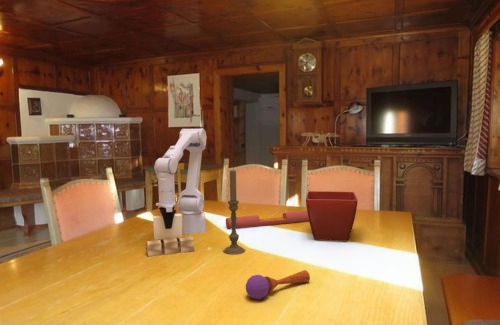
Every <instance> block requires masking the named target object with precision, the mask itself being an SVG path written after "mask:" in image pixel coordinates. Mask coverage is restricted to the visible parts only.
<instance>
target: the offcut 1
mask: <svg viewBox="0 0 500 325" xmlns="http://www.w3.org/2000/svg"><path fill="white" fill-rule="evenodd" d="M160 240H161V239H155V240H154V241H153V240H147V241H146V243H147V249H148V256H151V257H155V256H154V255H160V256H163V255H162V251H161V241H160Z"/></svg>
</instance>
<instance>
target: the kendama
mask: <svg viewBox="0 0 500 325" xmlns="http://www.w3.org/2000/svg"><path fill="white" fill-rule="evenodd" d="M310 279H311V275H310V273H309V272H308V271H307V270H306V269H305V270H301V271H298V272H296V273H293V274H290V275H288V276H285V277H283V278H280V279H275V278H273V277H269V276H263V275H261V274H255V275H251V276H250V277H249V278H248V279H246V280H247V281H246V284H245V291H246V293H247V295H248V296H249V297H250V298H251V299H254V300H261V299H264V298H265V297H266V296H267V295H268V294H270V293H272V291H274V290H275V289H276V288H277V286H279V285H288V284H300V283H301V284H302V283H308V282H310Z"/></svg>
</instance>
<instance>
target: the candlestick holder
mask: <svg viewBox="0 0 500 325" xmlns="http://www.w3.org/2000/svg"><path fill="white" fill-rule="evenodd" d="M239 203H240V201H239V200H237V171H236V169H230V170H229V200H228V201H227V204H228V205H229V206H228V210H230V211H231V213H230V218H231V220H232V221H231V222H232V224H231V225H232V226H231V227H232V229H231V233H230V234H229V235H228V239H229V241H230V245H229V246H226V247H225V248H224V249H223V251H222V252H223V253H224V254H225V255H232V256H234V255H235V256H236V255H237V256H239V255H242V254H245V252H246V249H245V248H244V247H242V246H240V245H238V241H239V238H240V236H239V234H238V233H237V230H236V229H237V228H236V219H237V217H238V216H237V213H236V212H237V211H238V209H239V205H238V204H239Z"/></svg>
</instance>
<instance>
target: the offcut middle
mask: <svg viewBox="0 0 500 325" xmlns="http://www.w3.org/2000/svg"><path fill="white" fill-rule="evenodd" d="M176 238H177V237H175V238H173V239H172V238H165V239H164V240H163V241H164V253H165V254H168V255H172V254H171V253H177V254H179V253H178V241H177V239H176Z"/></svg>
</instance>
